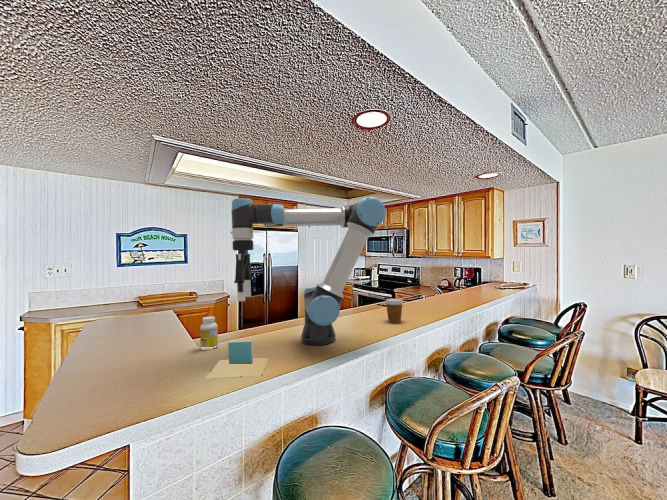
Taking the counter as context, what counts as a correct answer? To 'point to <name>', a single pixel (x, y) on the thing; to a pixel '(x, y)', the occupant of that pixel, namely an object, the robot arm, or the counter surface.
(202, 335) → the supplement bottle
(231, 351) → the tile
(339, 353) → the counter surface
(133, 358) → the counter surface
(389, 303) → the disposable coffee cup
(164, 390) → the counter surface
